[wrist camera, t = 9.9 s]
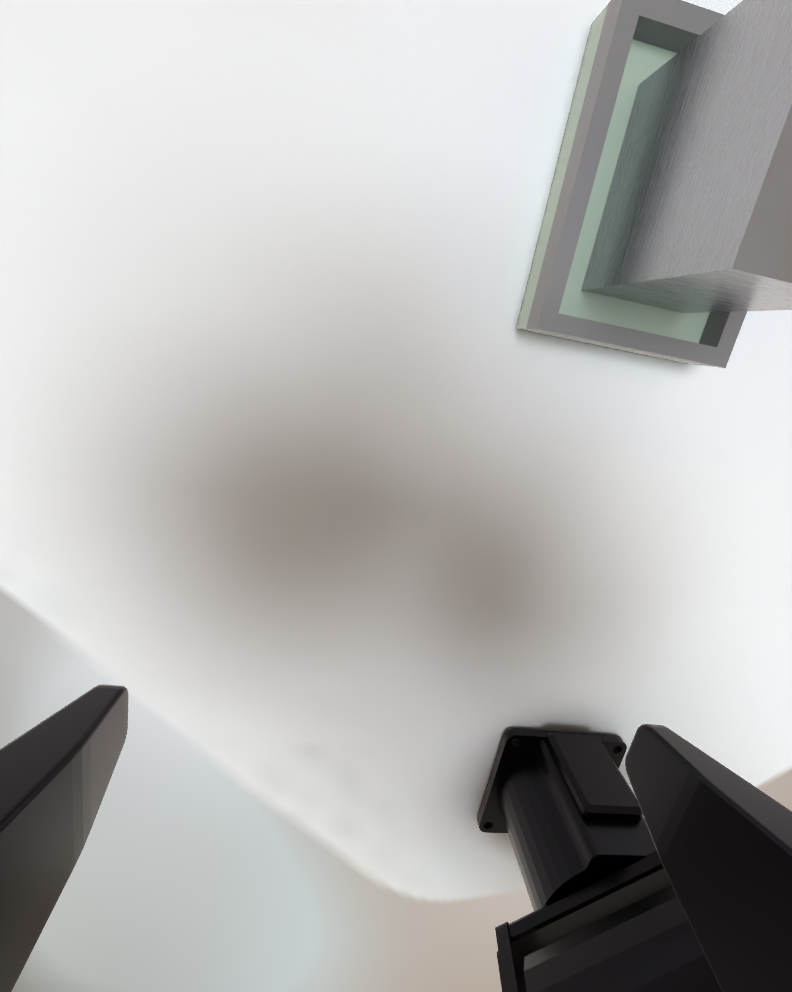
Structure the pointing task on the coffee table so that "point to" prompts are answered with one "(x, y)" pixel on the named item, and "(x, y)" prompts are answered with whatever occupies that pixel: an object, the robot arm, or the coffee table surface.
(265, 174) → the coffee table surface
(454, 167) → the coffee table surface
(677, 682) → the coffee table surface
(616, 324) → the grey green tray
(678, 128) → the billet
